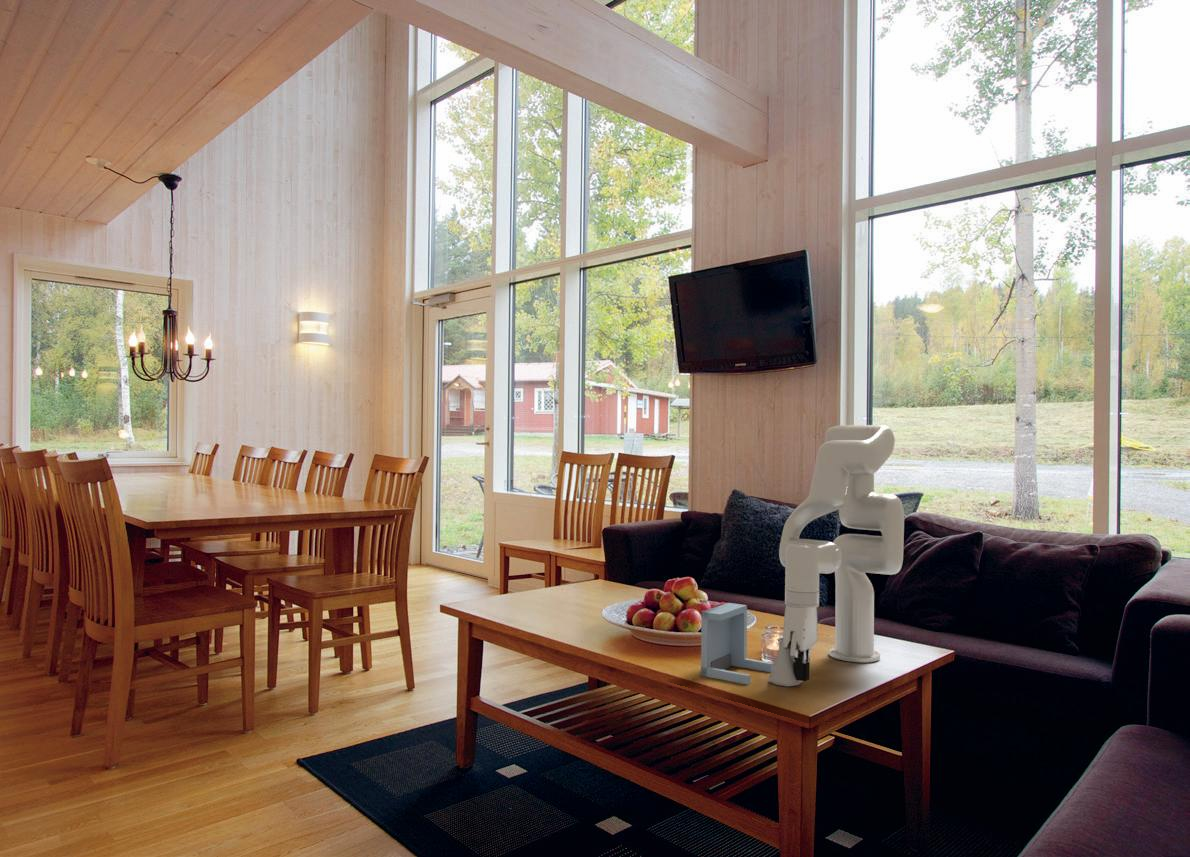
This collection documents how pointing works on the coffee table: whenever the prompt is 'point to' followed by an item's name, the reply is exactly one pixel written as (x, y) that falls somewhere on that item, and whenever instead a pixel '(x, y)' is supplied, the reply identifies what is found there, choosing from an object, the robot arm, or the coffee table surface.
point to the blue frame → (727, 644)
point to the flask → (783, 668)
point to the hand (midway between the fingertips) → (801, 679)
